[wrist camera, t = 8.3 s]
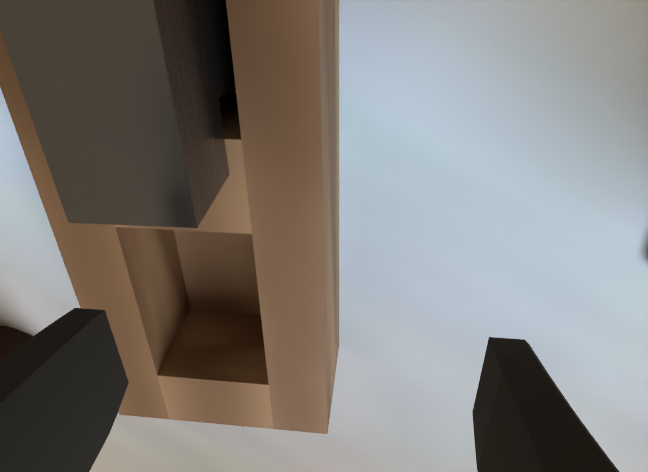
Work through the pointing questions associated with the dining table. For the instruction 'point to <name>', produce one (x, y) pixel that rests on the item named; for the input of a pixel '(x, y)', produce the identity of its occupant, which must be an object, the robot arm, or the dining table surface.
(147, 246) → the wooden slotted block
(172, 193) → the grey rectangular block
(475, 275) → the dining table surface
